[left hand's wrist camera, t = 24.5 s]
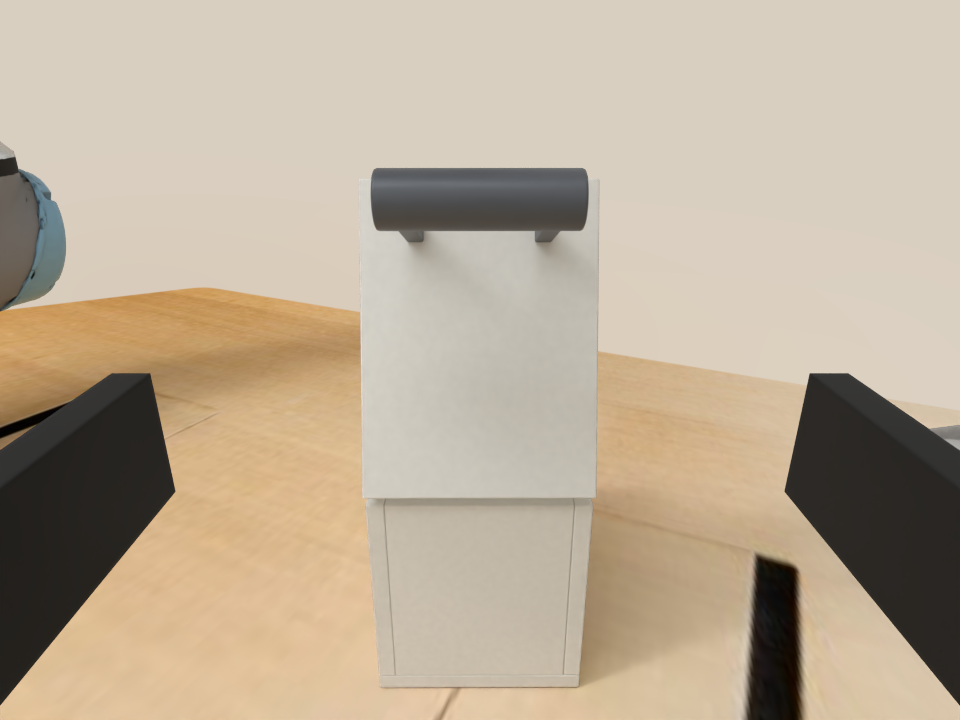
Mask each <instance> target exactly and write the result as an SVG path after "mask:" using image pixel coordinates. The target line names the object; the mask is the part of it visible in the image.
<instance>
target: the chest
mask: <svg viewBox="0 0 960 720" xmlns="http://www.w3.org/2000/svg"><path fill="white" fill-rule="evenodd" d="M365 508H366V520H367V532H368V545H369V557H370V569H371V581H372V594H373V606H374V618H375V630H376V643H377V655H378V667H379V679H380V687H381V688H403V687H578V686H579V677H580V675H579V673H580V664H581V652H582V639H583V627H584V614H585V602H586V590H587V577H588V565H589V553H590V540H591V528H592V516H593V503H592V500H591V498H412V499H367V502H366V506H365Z"/></svg>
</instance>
